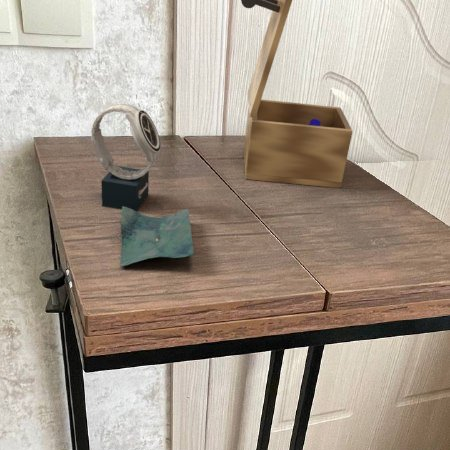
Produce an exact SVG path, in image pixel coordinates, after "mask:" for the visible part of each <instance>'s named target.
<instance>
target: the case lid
mask: <svg viewBox="0 0 450 450" xmlns="http://www.w3.org/2000/svg"><path fill="white" fill-rule="evenodd" d="M240 2H241V5H242V6H243V7H244V8H246V9H252V8H254V7H255V6H258V7H261V8H263V9H267V10H269V11H271V15H270V17H269V22H268V24H267V27H266V31H265V34H264V37H263V41H262V44H261V48H260V50H259V55H258V58H257V62H256V64H255V67H254V70H253V74H252V78H251V81H250V84H249V86H248V87H249V88H248V91H247V103H248V109H249V114H250V117H253V118H255V117H256V114H257V111H258V108H259V105H260V101H261V99H262V98H263V94H264V92H265V89H266V86H267V82H268V79H269V76H270V72H271V70H272V67H273V63H274V60H275V57H276V53H277V50H278V48H279V44H280V41H281V38H282V35H283V31H284V29H285V25H286V23H287V19H288V16H289V12H290V9H291V6H292V3H293V0H240Z"/></svg>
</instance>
